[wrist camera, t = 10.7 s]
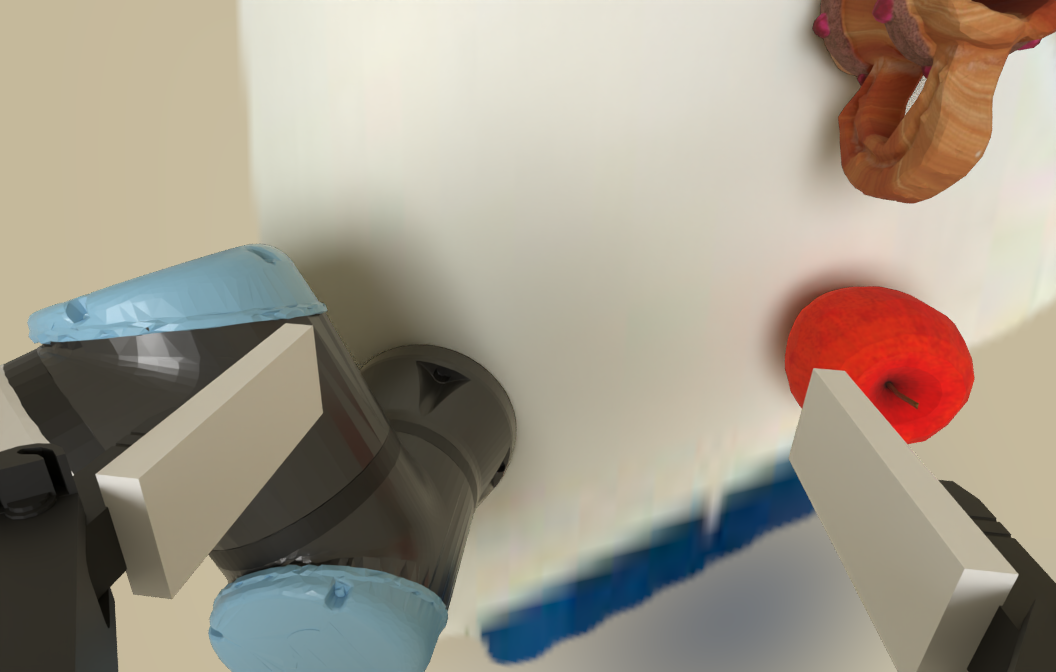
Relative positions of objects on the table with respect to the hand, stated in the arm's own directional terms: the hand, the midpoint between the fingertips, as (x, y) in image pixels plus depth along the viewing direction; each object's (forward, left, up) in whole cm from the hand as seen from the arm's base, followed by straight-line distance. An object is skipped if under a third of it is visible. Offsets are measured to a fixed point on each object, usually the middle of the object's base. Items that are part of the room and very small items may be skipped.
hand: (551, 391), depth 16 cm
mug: (+19, +1, -29) cm, 35 cm away
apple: (+13, -17, -29) cm, 36 cm away
